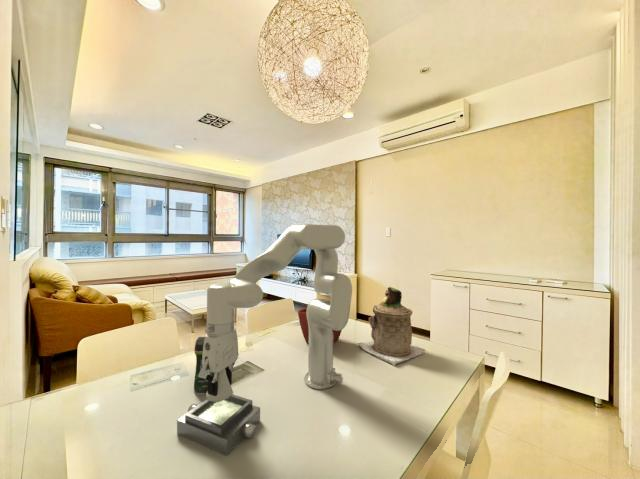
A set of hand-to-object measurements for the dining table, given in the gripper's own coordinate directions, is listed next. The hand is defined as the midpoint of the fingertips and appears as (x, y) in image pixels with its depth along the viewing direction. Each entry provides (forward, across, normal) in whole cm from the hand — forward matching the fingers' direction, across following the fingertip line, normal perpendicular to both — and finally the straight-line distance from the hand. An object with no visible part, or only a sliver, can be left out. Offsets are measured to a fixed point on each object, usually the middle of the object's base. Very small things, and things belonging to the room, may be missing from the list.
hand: (219, 388), depth 77 cm
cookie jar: (+11, +74, -38) cm, 84 cm away
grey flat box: (+11, 0, 0) cm, 11 cm away
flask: (+2, 0, 0) cm, 2 cm away
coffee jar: (+12, +14, +19) cm, 26 cm away
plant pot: (+11, +70, -3) cm, 71 cm away
